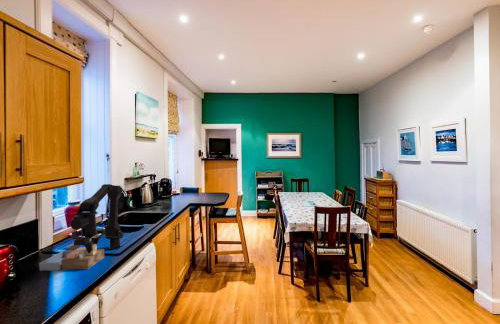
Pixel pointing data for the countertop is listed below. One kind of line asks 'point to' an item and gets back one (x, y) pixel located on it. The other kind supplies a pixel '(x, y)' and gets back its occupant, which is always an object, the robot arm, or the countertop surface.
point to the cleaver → (72, 247)
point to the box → (54, 262)
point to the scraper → (84, 253)
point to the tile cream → (80, 249)
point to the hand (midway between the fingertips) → (91, 251)
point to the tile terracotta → (73, 255)
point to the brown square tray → (83, 261)
